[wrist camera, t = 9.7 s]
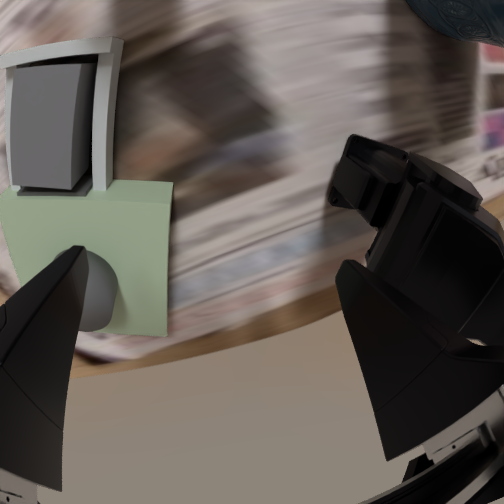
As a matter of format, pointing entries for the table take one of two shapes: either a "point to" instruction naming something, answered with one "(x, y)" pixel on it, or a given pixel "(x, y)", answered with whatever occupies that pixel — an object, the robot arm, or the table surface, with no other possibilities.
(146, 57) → the table surface
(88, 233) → the green block with frame
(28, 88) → the gray rectangular prism
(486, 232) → the robot arm
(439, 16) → the canister
